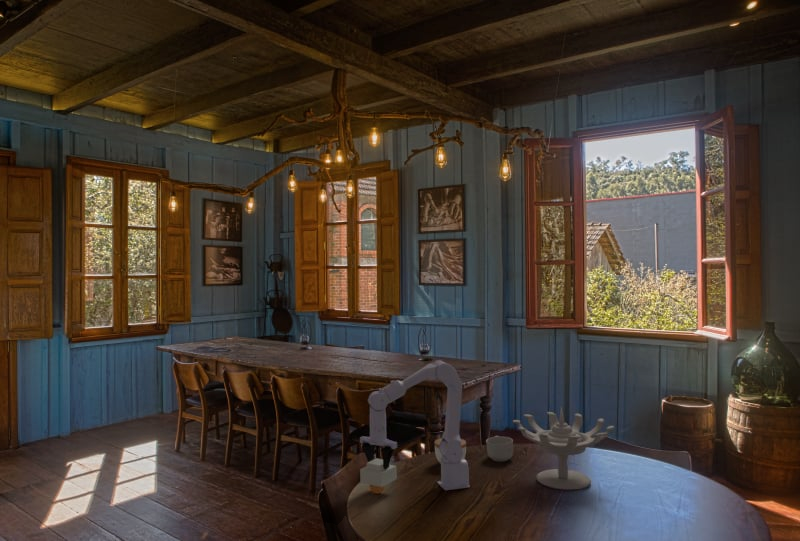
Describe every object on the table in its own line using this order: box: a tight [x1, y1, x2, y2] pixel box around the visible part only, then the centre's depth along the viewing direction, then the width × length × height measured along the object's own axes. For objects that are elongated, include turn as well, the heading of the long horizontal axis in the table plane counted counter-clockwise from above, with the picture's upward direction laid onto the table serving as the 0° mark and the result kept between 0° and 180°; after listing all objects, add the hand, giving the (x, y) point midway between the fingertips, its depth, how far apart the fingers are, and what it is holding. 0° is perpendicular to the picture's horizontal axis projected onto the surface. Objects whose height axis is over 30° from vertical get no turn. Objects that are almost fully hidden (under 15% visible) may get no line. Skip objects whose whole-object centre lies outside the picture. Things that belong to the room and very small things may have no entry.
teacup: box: [485, 435, 514, 463], centre depth 225 cm, size 14×11×8 cm
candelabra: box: [512, 406, 615, 491], centre depth 197 cm, size 34×35×27 cm
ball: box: [369, 484, 385, 495], centre depth 189 cm, size 5×5×5 cm
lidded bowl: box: [433, 437, 467, 464], centre depth 218 cm, size 13×13×11 cm
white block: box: [359, 458, 398, 487], centre depth 190 cm, size 9×9×6 cm
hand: (378, 466), depth 190 cm, fingers closed on white block, 6 cm apart
